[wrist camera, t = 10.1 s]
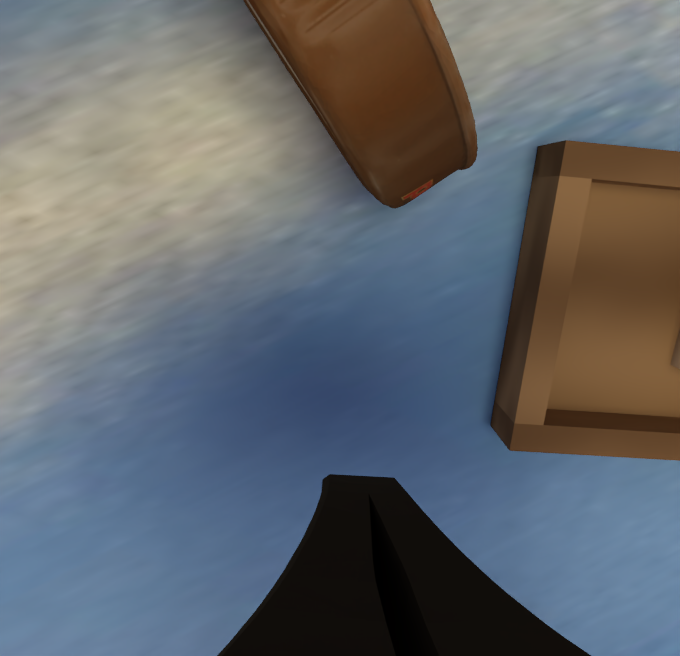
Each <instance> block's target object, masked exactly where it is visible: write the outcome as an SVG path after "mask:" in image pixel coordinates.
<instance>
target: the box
mask: <svg viewBox="0 0 680 656" xmlns="http://www.w3.org/2000/svg"><path fill="white" fill-rule="evenodd" d="M491 427H492V428H493V429H494V431H495V432H496V433H497V435H498V436H499V437H500V439H501V440H502V441H503V442H504V444H505V445H506V446H507V448H508V449H509V450H510V451H526V452H543V453H560V454H578V455H595V456H612V457H629V458H646V459H663V460H680V152H677V151H667V150H657V149H647V148H637V147H627V146H617V145H607V144H596V143H586V142H576V141H561V142H556V143H551V144H547V145H542V146H538V150H537V155H536V161H535V167H534V173H533V179H532V185H531V191H530V196H529V202H528V208H527V214H526V220H525V226H524V232H523V238H522V243H521V249H520V255H519V261H518V267H517V273H516V279H515V284H514V290H513V296H512V302H511V308H510V314H509V320H508V326H507V331H506V337H505V343H504V349H503V355H502V361H501V367H500V372H499V378H498V384H497V390H496V396H495V402H494V408H493V414H492V419H491Z"/></svg>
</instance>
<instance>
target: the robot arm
mask: <svg viewBox="0 0 680 656" xmlns="http://www.w3.org/2000/svg"><path fill="white" fill-rule="evenodd" d="M217 656H591V655H589V654H588V653H586V652H585V651H583V650H582V649H580V648H579V647H577V646H576V645H575V644H573V643H572V642H570V641H569V640H567V639H566V638H564V637H563V636H562V635H560V634H559V633H557V632H556V631H555V630H553V629H552V628H551V627H549V626H548V625H547V624H545V623H544V622H543V621H541V620H540V619H539V618H537V617H536V616H535V615H534V614H532V613H531V612H530V611H529V610H527V609H526V608H525V607H524V606H522V605H521V604H520V603H519V602H517V601H516V600H515V599H513V598H512V597H511V596H510V595H508V594H507V593H506V592H505V591H504V590H503V589H501V588H500V587H499V586H498V585H497V584H496V583H494V582H493V581H492V580H491V579H490V578H489V577H488V576H487V575H486V574H485V573H484V572H482V571H481V570H480V569H479V568H478V567H477V566H476V565H475V564H474V563H473V562H472V561H471V560H470V559H468V558H467V557H466V556H465V555H464V554H463V553H462V552H461V551H460V550H459V549H458V548H457V547H456V546H455V545H454V544H453V543H452V542H451V541H450V540H449V539H448V538H447V537H446V535H445V534H444V533H443V532H442V531H441V530H440V529H439V528H438V527H437V526H436V525H435V524H434V523H433V522H432V520H431V519H430V518H429V517H428V516H427V515H426V514H425V513H424V512H423V510H422V509H421V508H420V507H419V506H418V505H417V504H416V502H415V501H414V500H413V499H412V498H411V497H410V495H409V494H408V493H407V492H406V491H405V490H404V489H403V487H402V486H401V485H400V484H399V483H398V482H397V481H396V479H395V478H388V477H370V476H351V475H333V474H329V475H328V476H327V477H325V478H324V479H323V482H322V493H321V496H320V500H319V503H318V505H317V508H316V511H315V513H314V515H313V518H312V520H311V522H310V524H309V526H308V528H307V530H306V533H305V535H304V537H303V539H302V541H301V542H300V544H299V546H298V548H297V549H296V551H295V553H294V554H293V556H292V558H291V560H290V561H289V563H288V565H287V566H286V568H285V570H284V571H283V573H282V574H281V576H280V577H279V579H278V580H277V582H276V583H275V585H274V586H273V588H272V589H271V591H270V592H269V593H268V595H267V596H266V598H265V599H264V600H263V602H262V603H261V604H260V606H259V607H258V608H257V610H256V611H255V612H254V613H253V615H252V616H251V617H250V618H249V619H248V621H247V622H246V623H245V624H244V625H243V627H242V628H241V629H240V630H239V631H238V633H237V634H236V635H235V636H234V637H233V639H232V640H231V641H230V642H229V643H228V644H227V646H226V647H225V648H224V649H223V650H222V651H221V652H220V653H219V654H218V655H217Z"/></svg>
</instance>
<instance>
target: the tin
mask: <svg viewBox="0 0 680 656" xmlns="http://www.w3.org/2000/svg"><path fill="white" fill-rule="evenodd" d="M243 1H244V2H245V4H246V6H247V7H248V9H249V10H250V12H251V14H252V15H253V17H254V18H255V20H256V22H257V23H258V25H259V26H260V28H261V29H262V31H263V32H264V34H265V36H266V37H267V39H268V40H269V42H270V43H271V45H272V46H273V48H274V50H275V51H276V53H277V54H278V56H279V57H280V59H281V61H282V62H283V64H284V65H285V67H286V68H287V70H288V71H289V73H290V74H291V76H292V77H293V79H294V81H295V82H296V84H297V85H298V87H299V88H300V90H301V91H302V93H303V94H304V96H305V97H306V99H307V100H308V102H309V103H310V105H311V106H312V108H313V110H314V111H315V113H316V114H317V116H318V117H319V119H320V120H321V122H322V124H323V125H324V127H325V128H326V130H327V131H328V133H329V134H330V136H331V138H332V139H333V141H334V142H335V144H336V145H337V147H338V148H339V150H340V151H341V153H342V155H343V156H344V158H345V159H346V161H347V162H348V164H349V165H350V167H351V168H352V170H353V171H354V173H355V174H356V176H357V177H358V179H359V180H360V181H361V183H362V184H363V186H364V187H365V188H366V189H367V190H368V191H369V192H370V193H371V194H373V196H374V197H375V198H376V199H377V200H379V201H380V202H381V203H382V204H384V205H387V206H389V207H391V208H398V207H401V206H403V205H405V204H407V203H408V202H410V201H411V200H413V199H415V198H416V197H418V196H419V195H420V194H422V193H423V192H425V191H426V190H428V189H429V188H431V187H432V186H434V185H435V184H437V183H438V182H440V181H441V180H443V179H444V178H446V177H447V176H449V175H450V174H452V173H453V172H455V171H457V170H458V169H459V170H463V169H467V168H469V167H471V166H472V165H473V163H474V162H475V160H476V156H477V149H478V148H477V134H476V130H475V120H474V117H473V113H472V110H471V106H470V102H469V100H468V96H467V93H466V90H465V87H464V84H463V81H462V78H461V76H460V73H459V70H458V67H457V64H456V62H455V59H454V56H453V54H452V51H451V48H450V46H449V43H448V41H447V39H446V36H445V34H444V31H443V29H442V27H441V24H440V21H439V20H438V18H437V16H436V14H435V12H434V9H433V6H432V3H431V1H430V0H243Z"/></svg>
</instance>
